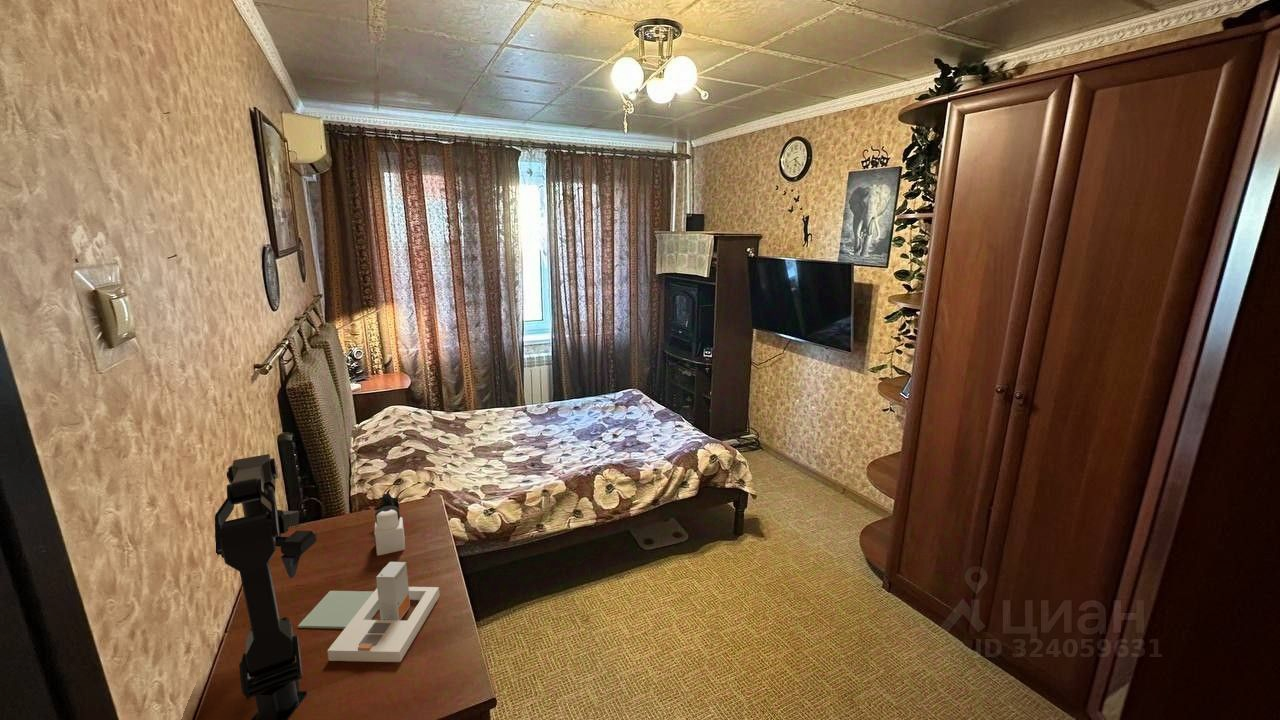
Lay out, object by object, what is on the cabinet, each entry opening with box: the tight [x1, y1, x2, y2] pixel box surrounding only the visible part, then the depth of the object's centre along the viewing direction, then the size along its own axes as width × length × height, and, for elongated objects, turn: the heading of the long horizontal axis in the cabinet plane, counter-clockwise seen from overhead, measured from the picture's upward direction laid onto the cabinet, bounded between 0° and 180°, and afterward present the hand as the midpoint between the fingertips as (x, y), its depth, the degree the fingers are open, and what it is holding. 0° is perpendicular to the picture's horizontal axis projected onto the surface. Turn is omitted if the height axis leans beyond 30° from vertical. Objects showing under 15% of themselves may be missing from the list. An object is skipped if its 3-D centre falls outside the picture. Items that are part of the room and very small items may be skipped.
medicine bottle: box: [373, 506, 406, 556], centre depth 146 cm, size 7×7×12 cm
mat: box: [297, 590, 375, 630], centre depth 122 cm, size 12×12×1 cm
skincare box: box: [375, 561, 411, 620], centre depth 119 cm, size 6×4×12 cm
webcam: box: [374, 492, 402, 517], centre depth 158 cm, size 8×8×10 cm
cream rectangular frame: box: [327, 586, 440, 663], centre depth 117 cm, size 20×15×3 cm
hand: (272, 576), depth 114 cm, fingers open, 9 cm apart
